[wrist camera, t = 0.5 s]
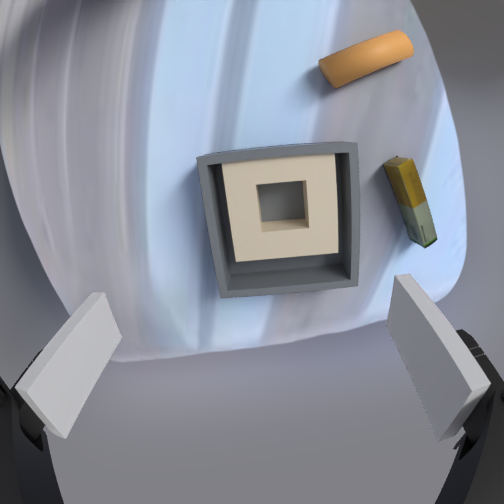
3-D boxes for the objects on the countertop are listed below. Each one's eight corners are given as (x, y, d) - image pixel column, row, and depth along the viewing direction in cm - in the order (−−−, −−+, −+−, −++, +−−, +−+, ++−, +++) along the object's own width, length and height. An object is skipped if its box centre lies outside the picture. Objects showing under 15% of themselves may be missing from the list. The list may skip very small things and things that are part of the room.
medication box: (423, 231, 36) (438, 240, 32) (409, 240, 37) (424, 250, 33) (397, 155, 32) (413, 157, 28) (381, 163, 33) (397, 166, 29)
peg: (317, 53, 26) (394, 24, 23) (319, 72, 30) (391, 42, 27) (337, 76, 25) (416, 45, 22) (338, 93, 29) (410, 62, 26)
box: (206, 154, 34) (196, 157, 29) (344, 141, 32) (357, 143, 27) (226, 277, 40) (220, 298, 35) (347, 266, 39) (357, 286, 34)
